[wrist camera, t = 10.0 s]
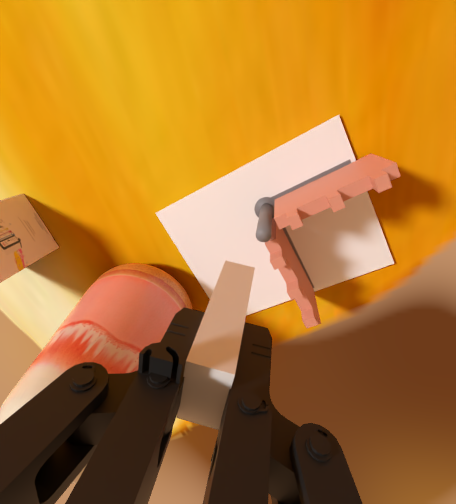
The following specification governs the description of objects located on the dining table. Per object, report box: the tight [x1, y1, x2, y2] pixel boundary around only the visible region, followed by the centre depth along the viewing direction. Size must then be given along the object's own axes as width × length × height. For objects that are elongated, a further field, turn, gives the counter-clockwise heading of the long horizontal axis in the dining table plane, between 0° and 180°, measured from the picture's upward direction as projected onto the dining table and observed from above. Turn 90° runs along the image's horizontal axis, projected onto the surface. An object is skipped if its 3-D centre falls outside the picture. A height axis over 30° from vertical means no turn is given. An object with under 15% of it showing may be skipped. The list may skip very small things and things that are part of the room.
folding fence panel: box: [265, 218, 321, 328], centre depth 32 cm, size 11×1×9 cm, turn 30°
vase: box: [0, 263, 193, 484], centre depth 29 cm, size 14×14×30 cm
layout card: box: [156, 115, 394, 315], centre depth 35 cm, size 23×18×1 cm
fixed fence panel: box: [256, 154, 401, 242], centre depth 28 cm, size 13×1×9 cm, turn 119°
